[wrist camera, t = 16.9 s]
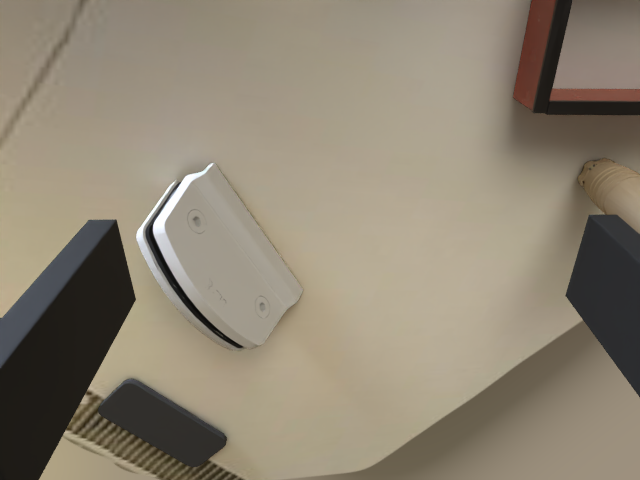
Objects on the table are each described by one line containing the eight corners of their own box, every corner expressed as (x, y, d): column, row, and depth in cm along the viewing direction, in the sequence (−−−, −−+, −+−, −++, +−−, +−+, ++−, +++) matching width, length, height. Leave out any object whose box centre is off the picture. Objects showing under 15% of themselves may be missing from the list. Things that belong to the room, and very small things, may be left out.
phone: (128, 379, 56) (230, 442, 61) (130, 374, 57) (231, 436, 62) (93, 412, 59) (194, 469, 64) (96, 406, 60) (195, 464, 65)
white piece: (305, 292, 51) (269, 369, 44) (270, 300, 54) (230, 374, 46) (211, 158, 44) (150, 222, 37) (176, 175, 47) (112, 238, 39)
